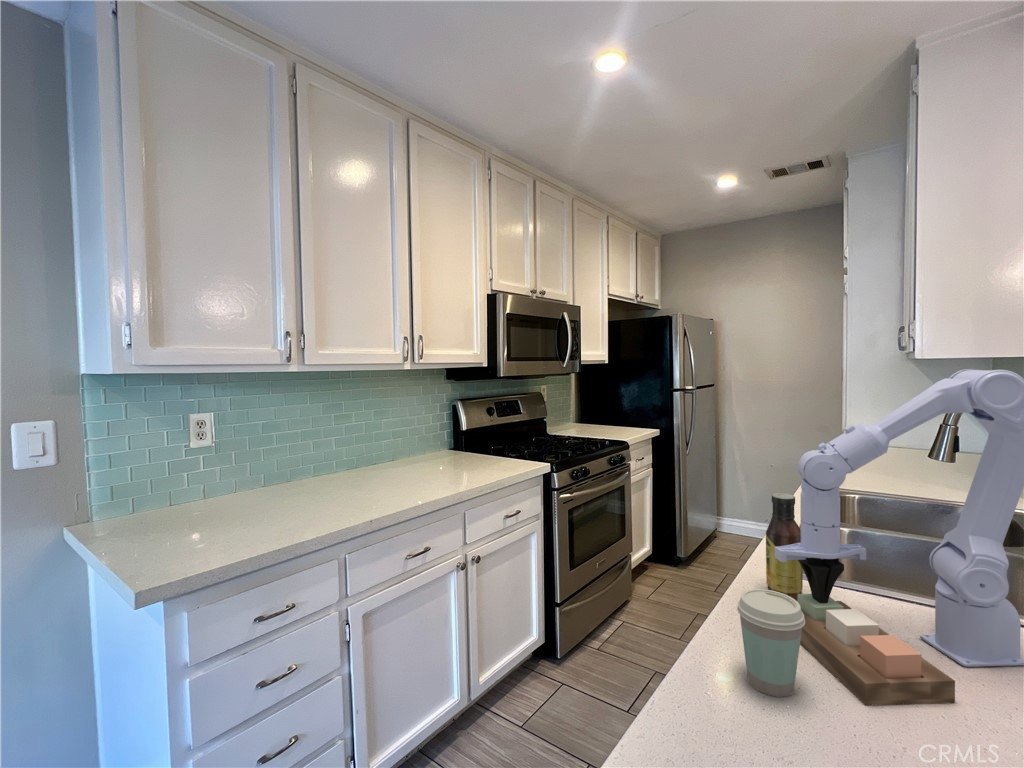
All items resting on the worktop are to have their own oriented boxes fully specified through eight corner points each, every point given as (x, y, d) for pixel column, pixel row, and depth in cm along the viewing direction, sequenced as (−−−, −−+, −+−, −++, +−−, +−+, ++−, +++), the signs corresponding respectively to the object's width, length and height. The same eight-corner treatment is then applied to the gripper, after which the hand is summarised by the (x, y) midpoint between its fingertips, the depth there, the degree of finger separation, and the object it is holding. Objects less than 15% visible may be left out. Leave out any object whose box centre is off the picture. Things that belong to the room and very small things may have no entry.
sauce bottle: (773, 584, 100) (772, 488, 99) (807, 594, 95) (807, 494, 94) (760, 594, 95) (760, 495, 95) (795, 605, 91) (795, 501, 90)
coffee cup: (815, 707, 64) (815, 618, 64) (746, 700, 66) (746, 613, 65) (792, 667, 72) (791, 589, 72) (731, 662, 74) (730, 585, 74)
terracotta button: (892, 661, 70) (892, 634, 70) (921, 683, 65) (921, 654, 65) (860, 662, 70) (860, 635, 70) (885, 684, 65) (886, 655, 65)
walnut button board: (840, 617, 86) (840, 600, 86) (954, 702, 64) (955, 680, 64) (774, 619, 86) (773, 602, 86) (865, 705, 64) (865, 683, 64)
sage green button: (824, 615, 85) (824, 593, 85) (843, 630, 80) (843, 606, 80) (797, 616, 85) (797, 594, 85) (815, 631, 80) (815, 607, 80)
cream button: (855, 633, 78) (855, 608, 78) (878, 651, 73) (878, 624, 73) (825, 634, 78) (825, 609, 77) (846, 651, 73) (847, 625, 73)
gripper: (845, 513, 86) (845, 588, 87) (765, 515, 86) (765, 590, 87) (876, 526, 79) (875, 608, 80) (788, 529, 79) (788, 610, 79)
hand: (819, 600), depth 83 cm, fingers closed, pressing on sage green button
